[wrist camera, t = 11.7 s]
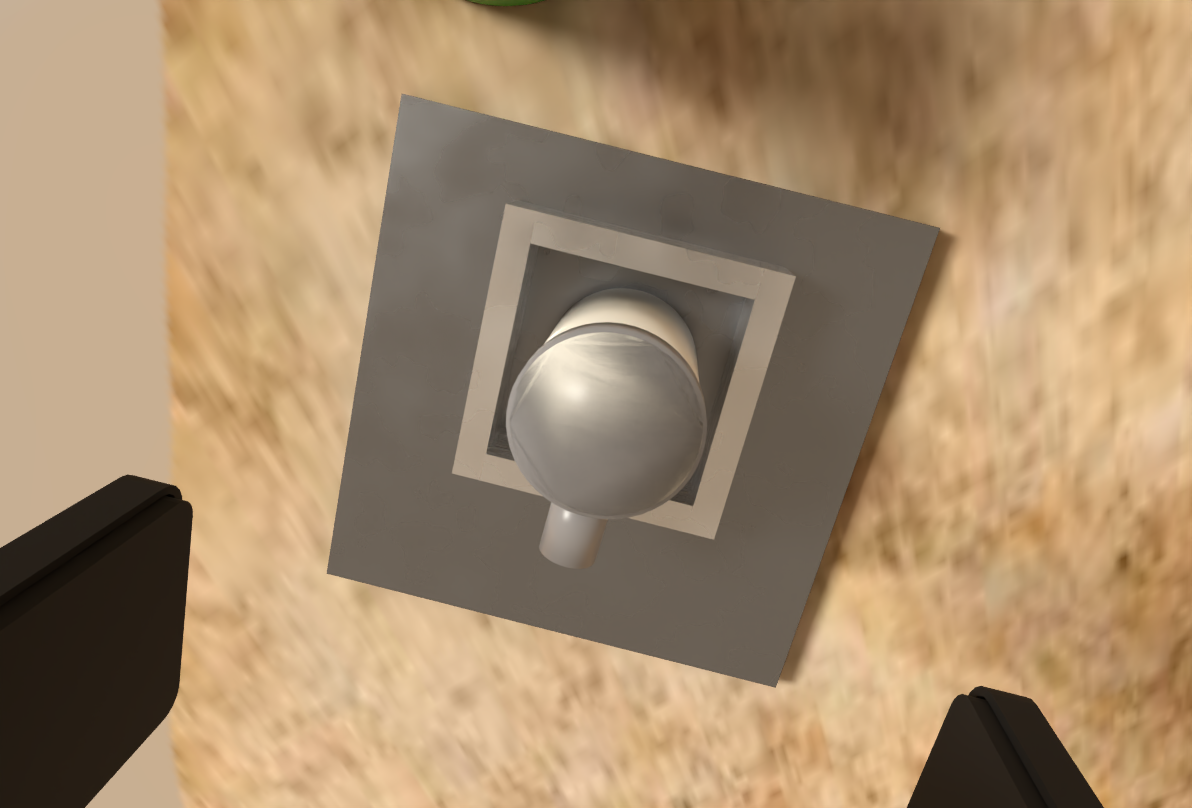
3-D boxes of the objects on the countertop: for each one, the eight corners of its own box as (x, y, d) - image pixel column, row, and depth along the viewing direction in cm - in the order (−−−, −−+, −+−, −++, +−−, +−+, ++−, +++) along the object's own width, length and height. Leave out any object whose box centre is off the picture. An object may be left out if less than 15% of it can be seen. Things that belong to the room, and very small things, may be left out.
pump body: (720, 310, 28) (734, 361, 21) (655, 509, 30) (649, 611, 24) (567, 266, 28) (533, 303, 21) (514, 468, 30) (468, 558, 24)
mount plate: (930, 225, 28) (963, 233, 25) (772, 672, 33) (783, 724, 30) (410, 96, 28) (379, 88, 25) (336, 561, 33) (303, 602, 30)
